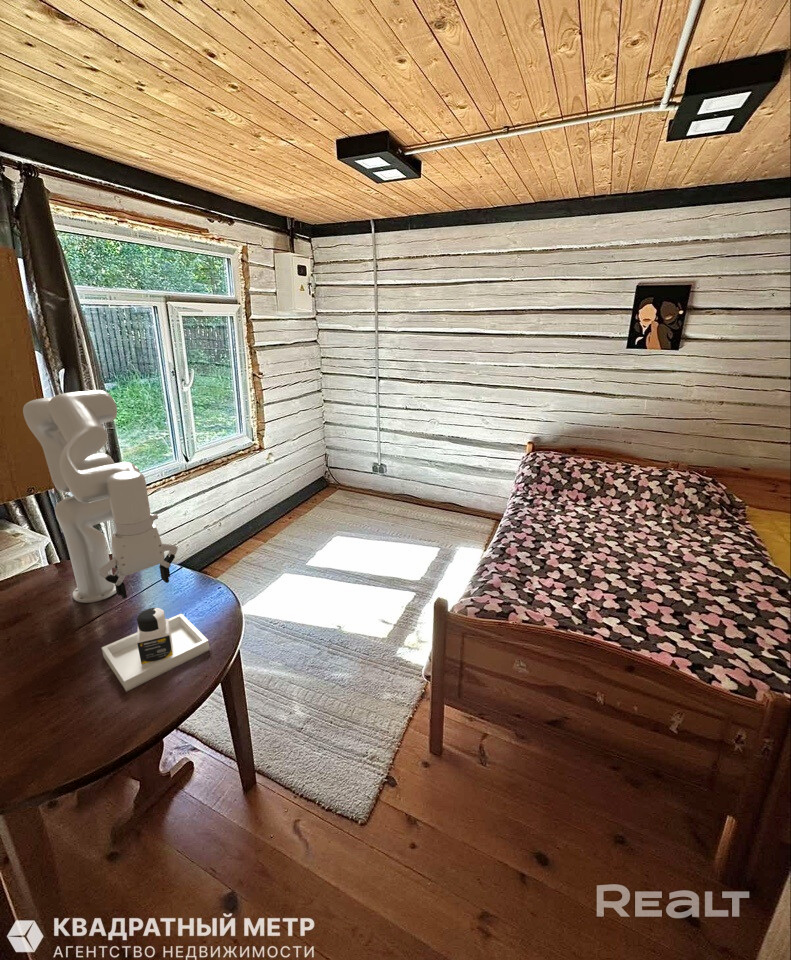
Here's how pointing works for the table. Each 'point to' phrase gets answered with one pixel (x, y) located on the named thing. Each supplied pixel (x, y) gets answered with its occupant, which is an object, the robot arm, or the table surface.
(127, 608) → the table surface
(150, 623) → the medicine bottle
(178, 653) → the tray
